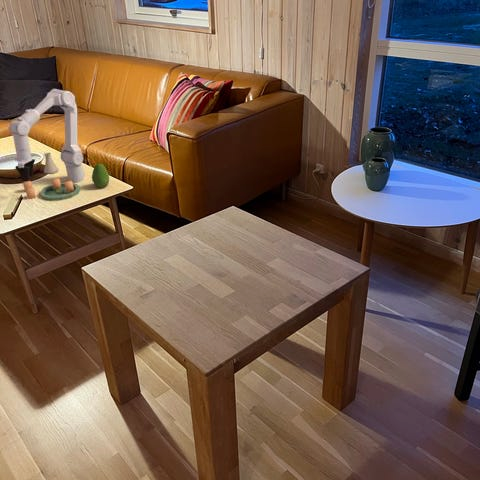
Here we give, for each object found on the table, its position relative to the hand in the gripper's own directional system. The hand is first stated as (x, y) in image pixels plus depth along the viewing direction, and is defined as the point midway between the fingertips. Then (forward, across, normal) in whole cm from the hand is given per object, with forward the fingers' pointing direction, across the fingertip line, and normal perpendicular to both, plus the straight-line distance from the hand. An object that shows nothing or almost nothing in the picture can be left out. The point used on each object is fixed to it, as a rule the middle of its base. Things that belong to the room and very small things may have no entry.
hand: (28, 178), depth 208 cm
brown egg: (+10, -9, -3) cm, 14 cm away
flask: (+8, -35, +2) cm, 36 cm away
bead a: (+8, -4, +16) cm, 19 cm away
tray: (+9, -4, +12) cm, 16 cm away
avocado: (+8, -9, +30) cm, 33 cm away
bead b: (+8, -8, +10) cm, 15 cm away
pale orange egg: (+10, -1, 0) cm, 10 cm away
